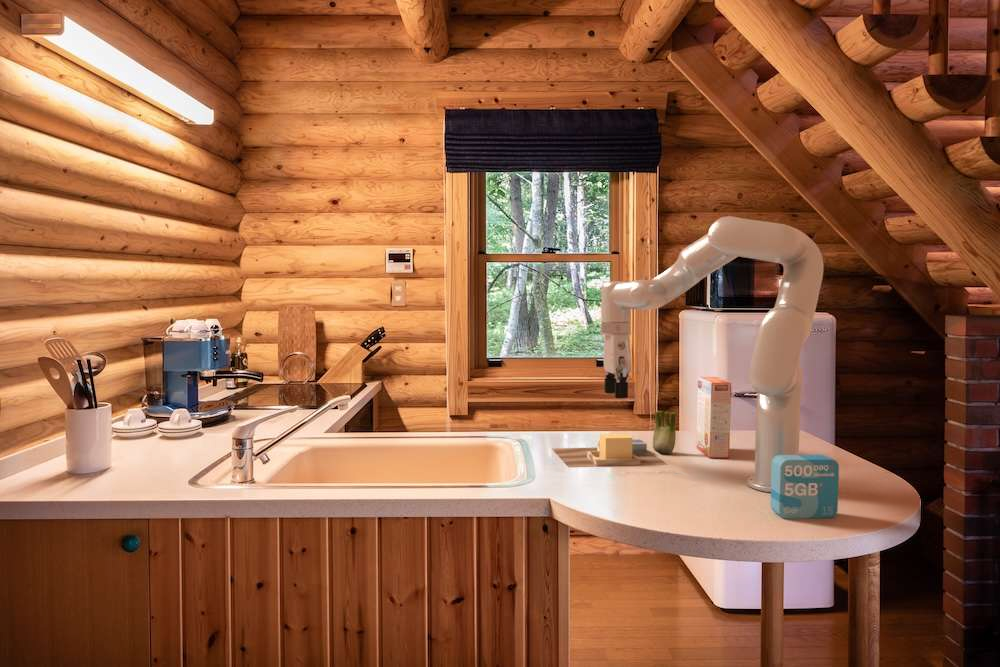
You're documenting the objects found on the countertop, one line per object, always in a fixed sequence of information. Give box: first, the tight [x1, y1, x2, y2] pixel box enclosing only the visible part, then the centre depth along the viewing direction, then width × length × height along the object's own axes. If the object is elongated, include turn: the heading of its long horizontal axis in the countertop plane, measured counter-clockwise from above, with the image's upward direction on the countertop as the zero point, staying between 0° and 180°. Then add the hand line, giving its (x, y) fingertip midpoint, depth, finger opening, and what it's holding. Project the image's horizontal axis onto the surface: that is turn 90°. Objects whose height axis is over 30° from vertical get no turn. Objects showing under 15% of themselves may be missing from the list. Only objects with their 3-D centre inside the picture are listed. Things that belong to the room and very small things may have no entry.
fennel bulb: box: [652, 410, 677, 455], centre depth 206 cm, size 6×5×12 cm
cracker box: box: [696, 376, 733, 459], centre depth 206 cm, size 14×6×21 cm, turn 179°
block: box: [599, 432, 633, 459], centre depth 191 cm, size 6×7×6 cm
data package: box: [770, 454, 840, 520], centre depth 149 cm, size 12×4×12 cm, turn 93°
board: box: [551, 438, 669, 468], centre depth 197 cm, size 22×26×4 cm
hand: (615, 395), depth 191 cm, fingers open, 9 cm apart
